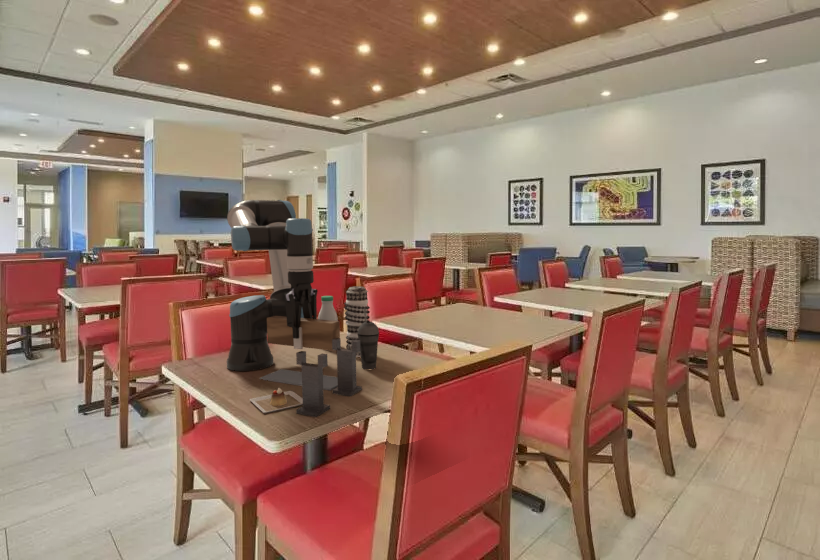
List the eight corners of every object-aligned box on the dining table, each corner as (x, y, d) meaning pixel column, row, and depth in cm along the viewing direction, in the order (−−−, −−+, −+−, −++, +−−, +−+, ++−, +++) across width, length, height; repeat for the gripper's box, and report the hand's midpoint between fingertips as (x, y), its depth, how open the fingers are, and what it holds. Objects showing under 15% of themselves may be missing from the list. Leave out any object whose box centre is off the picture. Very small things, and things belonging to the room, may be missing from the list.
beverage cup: (376, 371, 156) (375, 310, 154) (355, 370, 157) (353, 309, 155) (382, 365, 163) (381, 306, 161) (361, 364, 164) (360, 306, 162)
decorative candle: (341, 353, 179) (340, 286, 176) (365, 350, 183) (364, 285, 180) (350, 359, 171) (348, 289, 168) (374, 356, 175) (373, 287, 172)
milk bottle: (331, 343, 195) (330, 294, 193) (342, 346, 189) (341, 296, 187) (314, 346, 190) (313, 296, 188) (325, 350, 184) (324, 298, 182)
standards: (293, 412, 121) (291, 354, 120) (341, 386, 141) (339, 336, 140) (319, 417, 118) (317, 358, 116) (364, 390, 138) (363, 338, 136)
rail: (332, 350, 140) (331, 323, 139) (267, 343, 150) (266, 317, 149) (340, 347, 144) (339, 321, 143) (276, 340, 154) (275, 315, 153)
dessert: (249, 403, 130) (248, 385, 130) (291, 394, 137) (291, 377, 137) (263, 417, 120) (262, 398, 120) (308, 406, 127) (308, 388, 127)
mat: (259, 379, 149) (259, 377, 149) (281, 370, 158) (281, 369, 158) (330, 390, 138) (330, 388, 138) (349, 380, 147) (349, 378, 147)
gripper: (292, 273, 135) (295, 354, 138) (327, 268, 151) (329, 341, 153) (271, 272, 138) (274, 352, 141) (307, 267, 154) (310, 339, 156)
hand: (303, 346), depth 147 cm, fingers closed on rail, 4 cm apart
